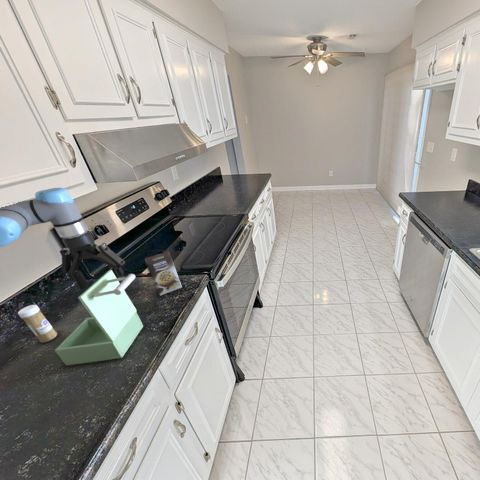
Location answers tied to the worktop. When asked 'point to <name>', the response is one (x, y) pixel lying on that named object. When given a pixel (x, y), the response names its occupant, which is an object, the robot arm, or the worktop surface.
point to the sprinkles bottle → (37, 323)
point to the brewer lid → (109, 303)
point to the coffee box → (163, 273)
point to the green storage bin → (97, 342)
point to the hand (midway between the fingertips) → (104, 284)
